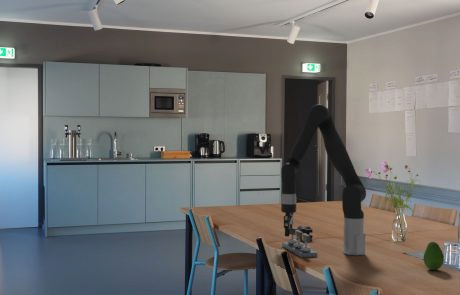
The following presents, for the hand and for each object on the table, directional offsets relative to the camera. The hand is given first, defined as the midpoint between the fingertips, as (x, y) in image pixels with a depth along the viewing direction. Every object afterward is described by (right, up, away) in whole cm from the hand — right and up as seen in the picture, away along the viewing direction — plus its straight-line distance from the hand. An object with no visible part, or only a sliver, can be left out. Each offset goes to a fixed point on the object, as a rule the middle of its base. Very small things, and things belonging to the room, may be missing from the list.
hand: (288, 234), depth 278 cm
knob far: (+2, -4, 0) cm, 4 cm away
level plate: (+4, -6, -9) cm, 12 cm away
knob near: (+6, -4, -18) cm, 20 cm away
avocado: (+56, -8, -45) cm, 72 cm away
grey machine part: (+11, -6, +22) cm, 26 cm away
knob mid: (+4, -4, -9) cm, 11 cm away
